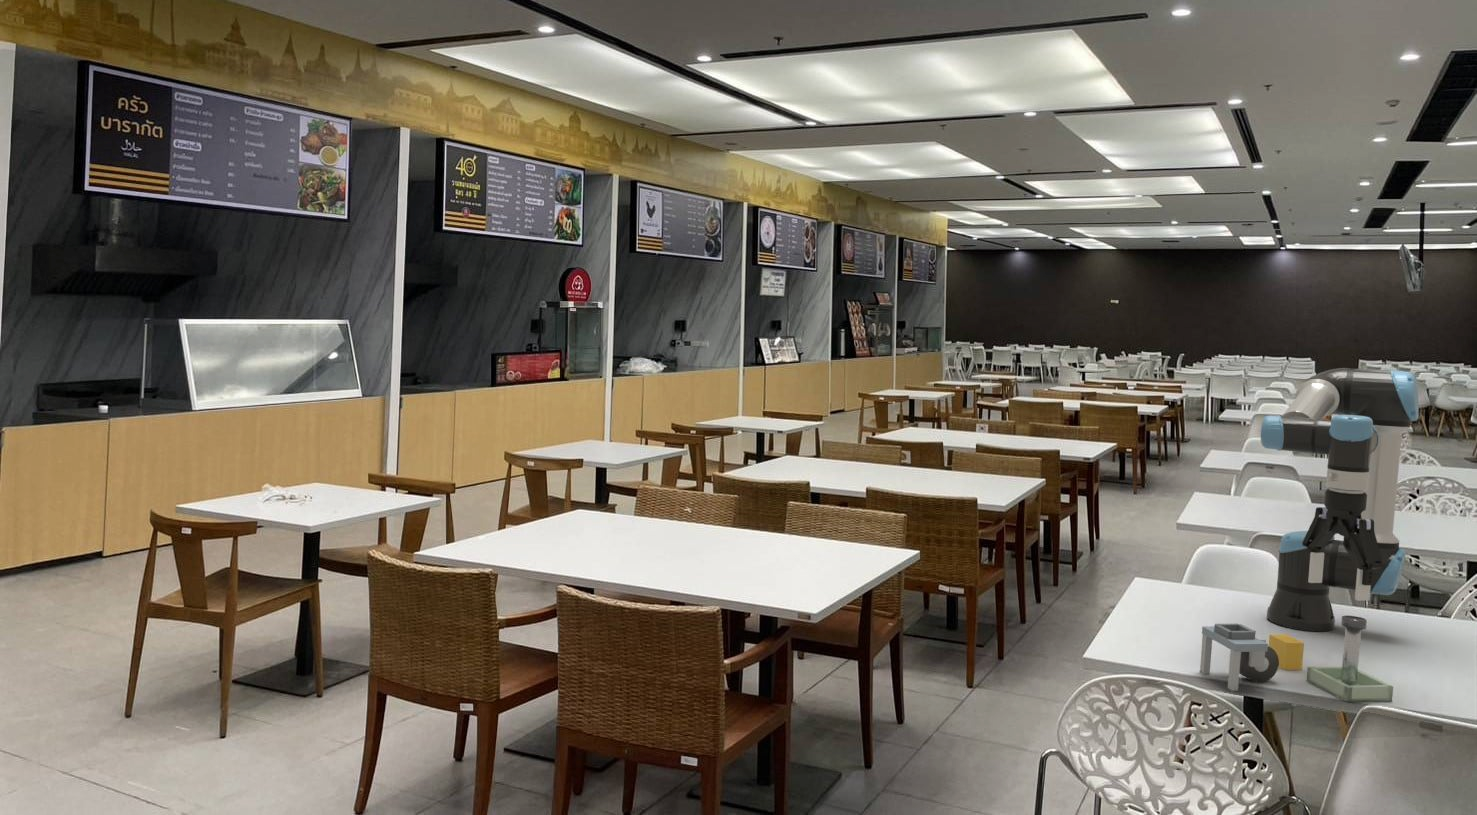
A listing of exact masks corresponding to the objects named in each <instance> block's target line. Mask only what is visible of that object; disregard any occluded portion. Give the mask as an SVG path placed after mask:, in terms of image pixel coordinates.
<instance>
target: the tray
mask: <svg viewBox="0 0 1477 815" xmlns="http://www.w3.org/2000/svg"><path fill="white" fill-rule="evenodd" d="M1306 668H1307V669H1306V670H1307V671H1306V682H1308V683H1310V684H1312V685H1313V686H1315V687H1317V688H1319V689H1321V690H1323V691H1325V690H1326V691H1328V692H1330V693H1332V694H1334V695H1336V696H1338V697H1339V698H1338V697H1337V698H1338V699H1340V698H1341V699H1340V700H1342V699H1343V700H1342V701H1344V702H1346V703H1358V702H1359V703H1361V702H1362V703H1363V702H1365V703H1366V702H1369V703H1370V702H1371V703H1372V702H1392V701H1393V695H1394V686H1393V685H1391V684H1390V683H1387V682H1384V681H1383V680H1380V679H1378V678H1376V677H1374V676H1373V675H1369V674H1368V673H1366V672H1364V671H1361V670H1359V669H1358V673H1357V685H1353V686H1349V685H1347V684H1345V683H1343V682H1341V673H1342V666H1307V667H1306ZM1326 691H1325V692H1326ZM1328 692H1327V693H1328ZM1330 693H1329V694H1330ZM1332 694H1331V695H1332ZM1334 695H1333V696H1334ZM1336 696H1335V697H1336Z"/></svg>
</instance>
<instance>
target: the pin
mask: <svg viewBox="0 0 1477 815" xmlns="http://www.w3.org/2000/svg"><path fill="white" fill-rule="evenodd" d="M1367 623H1368V620H1367V619H1366V618H1363V617H1360V616H1355V615H1342V616H1341V622H1340V625H1341V626H1342V627H1344V628H1345V629H1344V641H1343V652H1342V663H1341V664H1342V665H1341V667H1342V673H1341V682H1343V683H1345V684H1347V685H1349V686H1353V685H1357V673H1358V670H1359V661H1360V660H1359V658H1360V650H1361V640H1362V639H1361V638H1362V630H1366V629H1367Z"/></svg>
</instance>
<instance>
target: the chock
mask: <svg viewBox="0 0 1477 815" xmlns="http://www.w3.org/2000/svg"><path fill="white" fill-rule="evenodd" d="M1268 639H1269V640H1268V646H1269V647H1271V648H1272V649H1274V650H1275V652H1276V653H1277V655H1278V659H1279V666H1278V668H1280V669H1282V670H1284V671H1286V670H1287V671H1292V670H1293V671H1294V670H1295V671H1296V670H1298V671H1299V670H1300V671H1301V670H1302V669H1303V660H1304V648H1305V647H1304V646H1305V643H1304V642H1303V641H1301V640H1298V639H1296V638H1294V637H1292V636H1290V635H1289V634H1284V633H1283V634H1282V633H1281V634H1279V633H1278V634H1269V638H1268Z"/></svg>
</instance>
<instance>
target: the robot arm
mask: <svg viewBox="0 0 1477 815" xmlns="http://www.w3.org/2000/svg"><path fill="white" fill-rule="evenodd" d="M1418 389H1419V388H1418V383H1417V379H1416V376H1415V375H1414V374H1413V373H1411V372H1409V371H1405V370H1404V371H1402V370H1395V369H1372V368H1370V369H1369V368H1368V369H1367V368H1349V367H1342V368H1341V367H1338V368H1332V369H1328V370H1325V371H1323V372H1319V373H1316V374H1315V375H1312V376H1310V377H1308V378H1307V379H1305V380H1304V381H1303V382H1302V383H1301V384H1300V385H1299V386H1298V387H1297V390H1296V392H1295V395H1294V398H1295V399H1294V400H1293V401H1292V403H1291V404H1290V405H1289V406H1288V408H1287V409H1286V410H1285V411H1284V413H1283V414H1282V415H1280V414H1276V415H1266V416H1264V418H1263V420H1262V423H1261V429H1260V443H1261V445H1262V447H1263V448H1265V449H1271V450H1277V451H1278V452H1279V451H1285V452H1295V453H1296V452H1297V453H1307V454H1308V453H1310V454H1311V453H1312V454H1319V455H1327V457H1328V458H1327V460H1328V461H1327V470H1326V479H1325V480H1326V482H1325V486H1326V487H1327V489H1326V490H1325V491H1324V501H1323V502H1324V503H1323V505H1324V507H1323V506H1322V507H1320V506H1319V507H1316V508H1315V512H1314V518H1313V519H1312V521H1311V523H1310V525H1309V528H1308V530H1299V531H1291V532H1287V533H1285V534H1283V536H1282V537H1281V539H1280V545H1279V549H1278V553H1279V554H1278V555H1279V557H1278V567H1277V568H1278V570H1277V581H1276V589H1275V592H1274V594H1273V596H1272V599H1271V601H1270V604H1269V606H1268V607H1267V611H1266V619H1267V620H1268V619H1269V620H1270V621H1269V620H1268V621H1269V622H1271V621H1272V622H1271V623H1273V622H1274V623H1273V624H1275V623H1277V624H1276V625H1278V624H1279V626H1281V625H1282V627H1285V628H1289V629H1294V630H1301V631H1309V632H1326V631H1327V632H1328V631H1333V630H1334V629H1335V624H1336V623H1335V622H1336V618H1335V616H1334V610H1333V607H1332V604H1331V603H1332V602H1331V599H1330V587H1332V588H1336V589H1337V588H1338V589H1344V590H1350V591H1355V593H1354V600H1355V601H1357V602H1358V601H1360V602H1361V601H1370V598H1371V597H1370V596H1371V595H1374V594H1375V595H1383V596H1390V595H1393V594H1394V593H1395V592H1396V590H1397V588H1398V585H1399V583H1400V578H1401V576H1402V571H1403V568H1404V564H1405V558H1406V553H1407V551H1406V549H1404V548H1402V547H1400V539H1398V538H1397V536H1396V535H1395V534H1394V524H1395V523H1394V522H1395V513H1396V503H1397V501H1396V500H1397V492H1398V477H1399V470H1400V469H1399V468H1400V458H1401V457H1400V456H1401V446H1402V436H1403V434H1404V433H1405V432H1407V431H1408V430H1410V428H1411V422H1415V421H1418V419H1419V415H1420V414H1419V409H1420V404H1419V391H1418ZM1329 415H1334V416H1332V418H1331V419H1325V417H1327V416H1329ZM1337 534H1338V535H1340V536H1341V537H1343V540H1339V539H1335V538H1336V537H1335V536H1336V535H1337Z"/></svg>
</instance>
